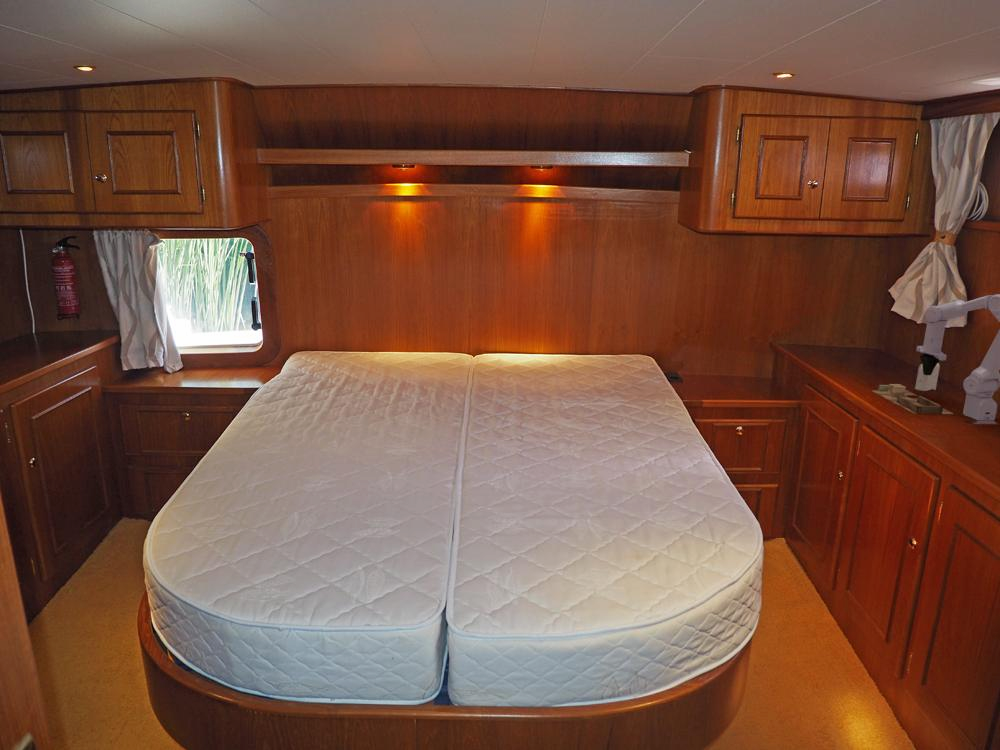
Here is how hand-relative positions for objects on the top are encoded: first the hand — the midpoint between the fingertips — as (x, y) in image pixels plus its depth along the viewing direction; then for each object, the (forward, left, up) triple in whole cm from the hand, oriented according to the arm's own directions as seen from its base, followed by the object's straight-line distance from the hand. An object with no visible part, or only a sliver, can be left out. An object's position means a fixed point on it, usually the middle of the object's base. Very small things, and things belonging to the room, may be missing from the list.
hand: (927, 374), depth 261 cm
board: (-4, +8, -10) cm, 13 cm away
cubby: (-12, +9, -9) cm, 17 cm away
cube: (+2, +9, -9) cm, 13 cm away
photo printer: (+13, -9, -11) cm, 19 cm away
